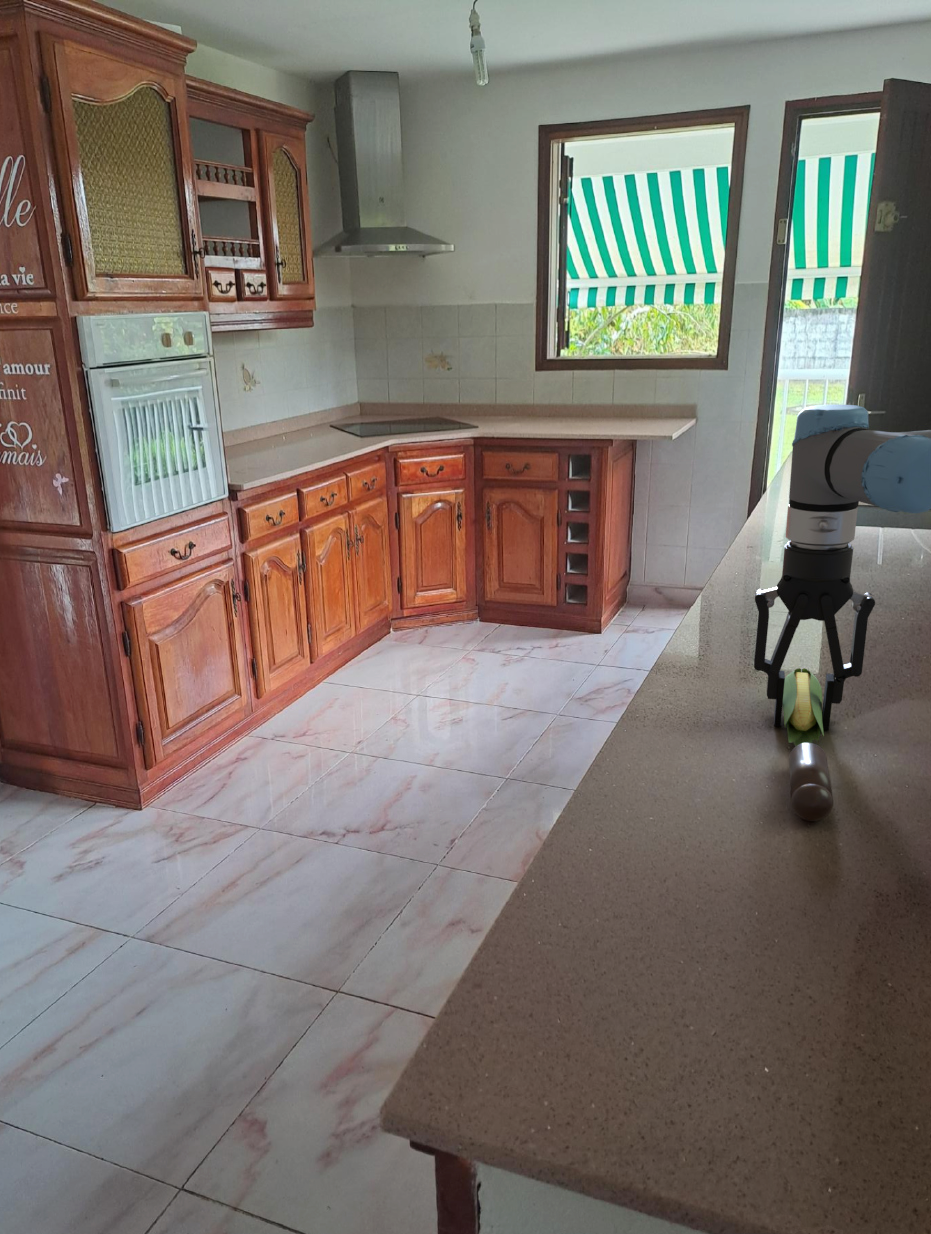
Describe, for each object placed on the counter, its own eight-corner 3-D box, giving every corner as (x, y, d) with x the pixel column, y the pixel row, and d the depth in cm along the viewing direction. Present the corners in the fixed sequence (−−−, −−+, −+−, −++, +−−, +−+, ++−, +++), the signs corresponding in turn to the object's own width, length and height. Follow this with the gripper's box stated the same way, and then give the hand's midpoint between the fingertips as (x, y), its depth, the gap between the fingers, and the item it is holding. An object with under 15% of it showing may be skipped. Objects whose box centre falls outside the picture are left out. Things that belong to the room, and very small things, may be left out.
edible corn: (819, 697, 130) (822, 665, 128) (826, 759, 112) (830, 723, 111) (778, 694, 132) (781, 662, 130) (778, 755, 114) (782, 719, 112)
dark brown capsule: (786, 767, 111) (789, 735, 109) (824, 770, 110) (827, 738, 108) (790, 826, 98) (793, 790, 97) (832, 830, 97) (836, 794, 96)
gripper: (737, 547, 113) (725, 730, 121) (907, 551, 107) (882, 742, 116) (739, 533, 120) (727, 707, 128) (899, 536, 114) (875, 718, 122)
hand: (800, 723), depth 122 cm, fingers closed on edible corn, 5 cm apart
